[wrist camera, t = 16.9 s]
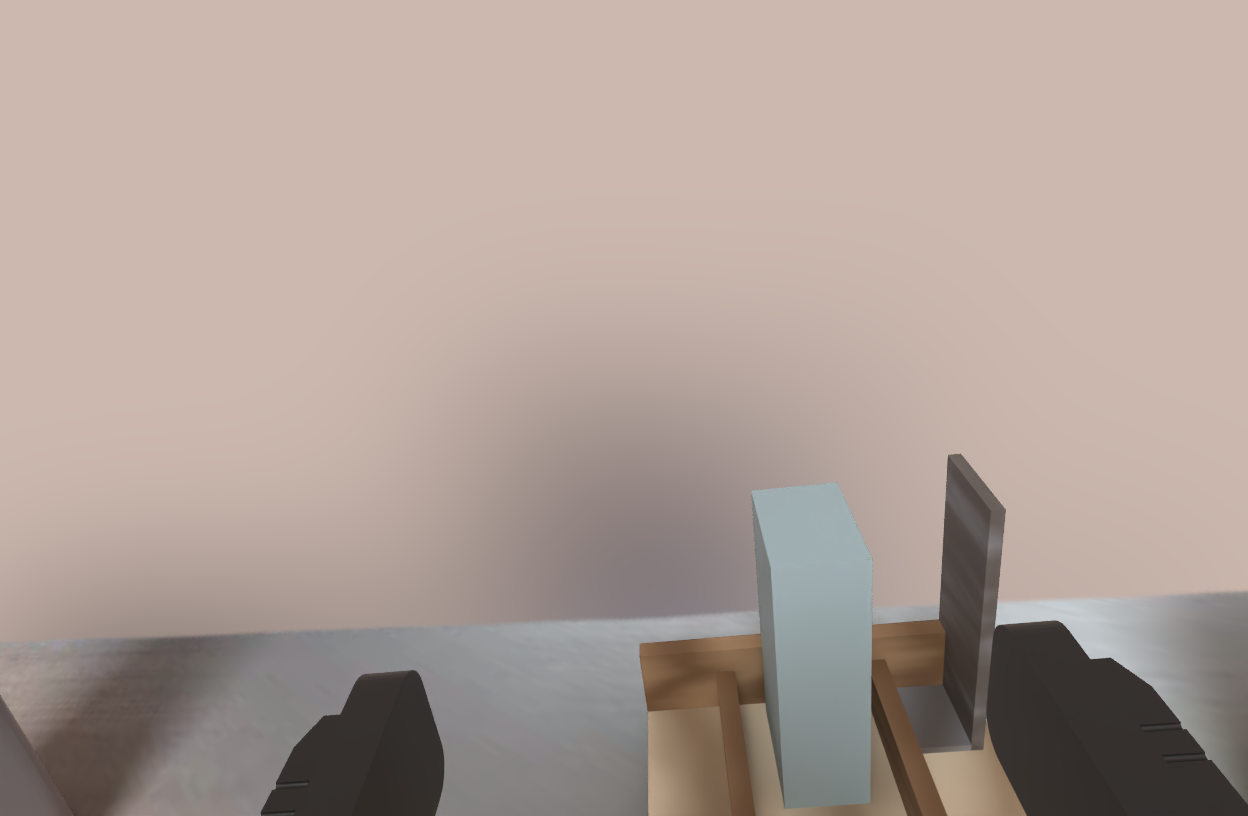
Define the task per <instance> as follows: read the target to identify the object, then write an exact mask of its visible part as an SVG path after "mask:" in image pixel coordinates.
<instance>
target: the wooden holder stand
mask: <svg viewBox="0 0 1248 816" xmlns="http://www.w3.org/2000/svg"><path fill="white" fill-rule="evenodd" d="M947 465H948V466H947V484H946V502H945V519H944V537H943V538H944V539H943V556H942V574H941V592H940V611H939V620H926V621H914V622H902V623H889V624H877V625H872V669H871V780H870V803H866V804H852V805H837V806H822V807H807V808H792V809H785V807H784V802H783V797H782V792H781V787H780V781H779V776H778V771H777V766H776V760H775V755H774V750H773V745H772V739H771V734H770V729H769V724H768V718H767V713H766V703H765V688H764V673H763V658H762V643H761V634H754V635H741V636H729V637H717V638H704V639H692V640H680V641H667V642H655V643H643V644H640V663H641V670H642V676H643V683H644V689H645V696H646V702H647V709H648V816H1027V815H1026V813H1025V811H1024V809H1023V807H1022V805H1021V803H1020V801H1019V799H1018V797H1017V795H1016V793H1015V791H1014V790H1013V788H1012V786H1011V784H1010V782H1009V780H1008V778H1007V776H1006V774H1005V772H1004V770H1003V768H1002V766H1001V764H1000V762H999V760H998V758H997V755H996V753H995V750H994V748H993V745H992V742H991V738H990V734H989V729H988V724H987V722H986V716H987V715H986V706H987V695H988V684H989V673H990V662H991V652H992V641H993V634H994V630H995V619H996V609H997V598H998V587H999V576H1000V565H1001V555H1002V543H1003V533H1004V522H1005V512H1006V510H1005V508H1004V507H1003V506H1002V505H1001V503H1000V502H999V501H998V500H997V498H996V497H995V496H994V495H993V493H992V492H991V491H990V490H989V488H988V487H987V486H986V485H985V483H984V482H983V481H982V480H981V478H980V477H979V476H978V475H977V473H976V472H975V471H974V470H973V468H972V467H971V466H970V465H969V463H968V462H967V461H966V460H965V459H964V457H963V456H962V455H961V454H954V455H948V464H947Z"/></svg>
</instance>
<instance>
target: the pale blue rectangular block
mask: <svg viewBox="0 0 1248 816" xmlns="http://www.w3.org/2000/svg"><path fill="white" fill-rule="evenodd" d="M751 493H752V510H753V524H754V539H755V554H756V569H757V583H758V599H759V614H760V629H761V643H762V658H763V673H764V688H765V703H766V713H767V718H768V724H769V729H770V734H771V739H772V745H773V750H774V755H775V760H776V766H777V771H778V776H779V781H780V787H781V792H782V797H783V802H784V807H785V809H792V808H807V807H822V806H837V805H852V804H866V803H870V780H871V669H872V557H871V554H870V552H869V550H868V548H867V546H866V544H865V542H864V540H863V537H862V535H861V533H860V531H859V529H858V526H857V524H856V522H855V520H854V518H853V516H852V513H851V511H850V509H849V507H848V505H847V503H846V501H845V498H844V496H843V494H842V492H841V490H840V488H839V485H838V483H837V482H836V483H826V484H816V485H806V486H796V487H785V488H775V489H765V490H755V491H751Z"/></svg>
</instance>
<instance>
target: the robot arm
mask: <svg viewBox="0 0 1248 816" xmlns="http://www.w3.org/2000/svg"><path fill="white" fill-rule="evenodd" d="M986 715H987V724H988V729H989V734H990V738H991V742H992V745H993V748H994V750H995V753H996V755H997V758H998V760H999V762H1000V764H1001V766H1002V768H1003V770H1004V772H1005V774H1006V776H1007V778H1008V780H1009V782H1010V784H1011V786H1012V788H1013V790H1014V791H1015V793H1016V795H1017V797H1018V799H1019V801H1020V803H1021V805H1022V807H1023V809H1024V811H1025V813H1026V815H1027V816H1248V805H1247V803H1246V802H1245V801H1244V800H1243V799H1242V797H1241V796H1240V795H1239V794H1238V792H1237V791H1236V790H1235V789H1234V787H1233V786H1232V785H1231V784H1230V782H1229V781H1228V780H1227V779H1226V778H1225V776H1224V775H1223V774H1222V773H1221V771H1220V770H1219V769H1218V768H1217V766H1216V765H1215V764H1214V763H1213V762H1212V760H1207V758H1206V756H1205V752H1204V750H1203V749H1202V748H1201V747H1200V745H1199V744H1198V743H1197V742H1196V741H1195V739H1194V738H1193V737H1192V736H1191V734H1190V733H1189V732H1188V731H1187V729H1182V727H1181V722H1180V721H1179V720H1178V718H1177V717H1176V716H1175V715H1174V713H1173V712H1172V711H1171V710H1170V708H1169V707H1168V706H1167V705H1166V703H1165V702H1164V701H1163V700H1162V699H1161V697H1160V696H1159V695H1158V694H1157V692H1156V691H1155V690H1154V689H1153V687H1152V686H1150V685H1149V684H1147V683H1146V682H1145V681H1143V680H1142V679H1140V678H1139V677H1137V676H1136V675H1135V674H1133V673H1132V672H1130V671H1129V670H1127V669H1126V668H1125V667H1123V666H1122V665H1120V664H1119V663H1117V662H1116V661H1115V660H1113V659H1112V658H1101V659H1090V658H1089V657H1088V656H1087V654H1086V653H1085V652H1084V650H1083V649H1082V648H1081V646H1080V645H1079V644H1078V642H1077V641H1076V640H1075V638H1074V637H1073V636H1072V634H1071V633H1070V631H1069V630H1068V629H1067V628H1066V627H1065V626H1064V625H1063V624H1062V623H1061V622H1059V621H1043V622H1031V623H1018V624H1006V625H998V626H997V627H996V628H995V630H994V634H993V641H992V652H991V662H990V673H989V684H988V695H987V706H986ZM443 780H444V754H443V748H442V744H441V741H440V737H439V734H438V731H437V728H436V724H435V721H434V718H433V715H432V712H431V708H430V705H429V702H428V699H427V695H426V692H425V689H424V686H423V683H422V680H421V677H420V675H419V674H418V673H417V672H416V671H414V670H411V671H398V672H386V673H373V674H364V675H362V676H360V677H359V678H358V680H357V681H356V683H355V684H354V686H353V689H352V691H351V693H350V695H349V697H348V699H347V701H346V704H345V706H344V708H343V710H342V712H341V714H340V715H329V716H323V717H322V718H321V719H320V721H319V722H318V723H317V724H316V725H315V726H314V727H313V728H312V729H311V730H310V731H309V732H308V733H307V734H306V735H305V736H304V737H303V738H302V740H301V741H300V742H299V743H298V744H297V745H296V746H295V747H294V749H293V751H292V752H291V754H290V756H289V758H288V760H287V762H286V764H285V766H284V768H283V770H282V772H281V774H280V776H279V778H278V780H277V782H276V789H275V790H272V792H271V793H270V795H269V797H268V799H267V801H266V803H265V805H264V807H263V809H262V811H261V816H435V814H436V811H437V807H438V804H439V800H440V796H441V792H442V787H443ZM0 816H74V815H73V813H72V811H71V810H70V808H69V806H68V805H67V803H66V802H65V800H64V798H63V797H62V795H61V794H60V792H59V790H58V789H57V787H56V785H55V784H54V782H53V780H52V779H51V777H50V775H49V773H48V771H47V770H46V768H45V767H44V765H43V763H42V762H41V760H40V758H39V757H38V755H37V754H36V752H35V750H34V749H33V747H32V745H31V744H30V742H29V741H28V739H27V737H26V736H25V734H24V732H23V731H22V729H21V728H20V726H19V724H18V723H17V721H16V720H15V718H14V716H13V715H12V713H11V711H10V710H9V708H8V707H7V705H6V703H5V702H4V700H3V698H2V697H1V695H0Z"/></svg>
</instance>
